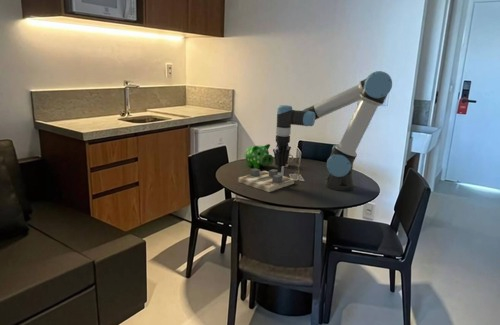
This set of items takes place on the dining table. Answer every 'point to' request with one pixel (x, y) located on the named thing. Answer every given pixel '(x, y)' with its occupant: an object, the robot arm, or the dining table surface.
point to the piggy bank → (258, 156)
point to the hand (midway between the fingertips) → (280, 177)
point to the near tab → (277, 178)
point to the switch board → (265, 181)
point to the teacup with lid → (288, 161)
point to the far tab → (255, 172)
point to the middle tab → (273, 172)
